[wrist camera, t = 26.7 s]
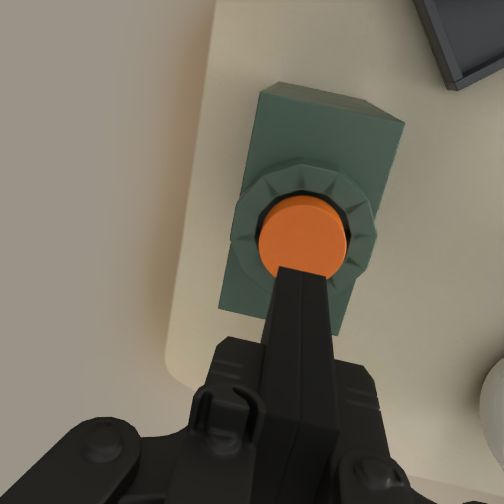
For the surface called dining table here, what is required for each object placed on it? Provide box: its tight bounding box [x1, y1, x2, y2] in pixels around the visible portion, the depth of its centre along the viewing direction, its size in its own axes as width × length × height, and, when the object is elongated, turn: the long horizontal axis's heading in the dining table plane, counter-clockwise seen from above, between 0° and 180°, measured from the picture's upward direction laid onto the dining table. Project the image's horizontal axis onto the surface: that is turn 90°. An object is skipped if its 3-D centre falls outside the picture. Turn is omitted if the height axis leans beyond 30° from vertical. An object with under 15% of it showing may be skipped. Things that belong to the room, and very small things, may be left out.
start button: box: [259, 195, 346, 280], centre depth 22 cm, size 4×4×2 cm
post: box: [218, 82, 405, 336], centre depth 31 cm, size 12×7×18 cm, turn 169°
